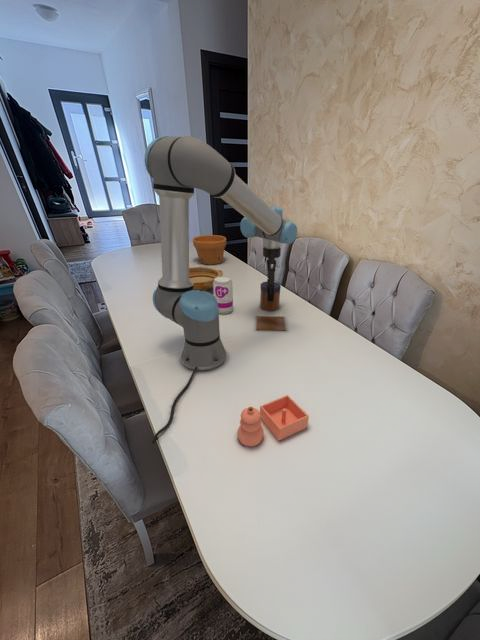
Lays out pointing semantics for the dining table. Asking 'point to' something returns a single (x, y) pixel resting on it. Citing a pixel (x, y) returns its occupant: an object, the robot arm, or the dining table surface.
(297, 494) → the dining table surface
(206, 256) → the flower pot
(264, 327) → the coaster
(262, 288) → the jar lid
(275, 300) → the jar
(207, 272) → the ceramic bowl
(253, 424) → the pottery
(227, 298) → the supplement can
